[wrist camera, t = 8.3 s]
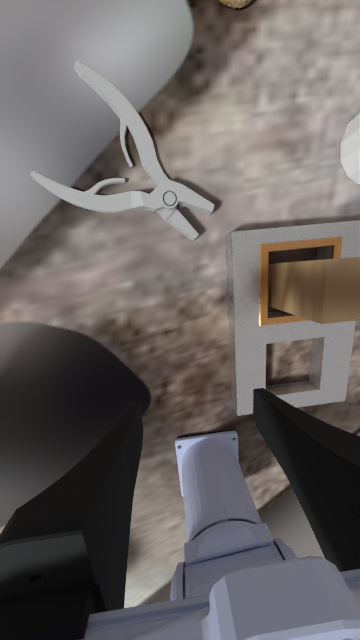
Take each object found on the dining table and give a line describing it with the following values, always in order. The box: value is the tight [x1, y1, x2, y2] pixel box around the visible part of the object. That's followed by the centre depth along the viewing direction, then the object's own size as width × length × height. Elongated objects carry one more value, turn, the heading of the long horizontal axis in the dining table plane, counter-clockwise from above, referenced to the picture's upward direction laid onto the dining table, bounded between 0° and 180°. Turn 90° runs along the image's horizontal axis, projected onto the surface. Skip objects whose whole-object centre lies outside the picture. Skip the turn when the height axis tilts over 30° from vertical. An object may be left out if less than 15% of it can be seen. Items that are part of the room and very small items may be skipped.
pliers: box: [30, 61, 214, 241], centre depth 18 cm, size 10×2×15 cm
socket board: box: [226, 220, 360, 416], centre depth 21 cm, size 20×13×2 cm, turn 5°
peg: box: [268, 257, 360, 324], centre depth 18 cm, size 4×4×8 cm
